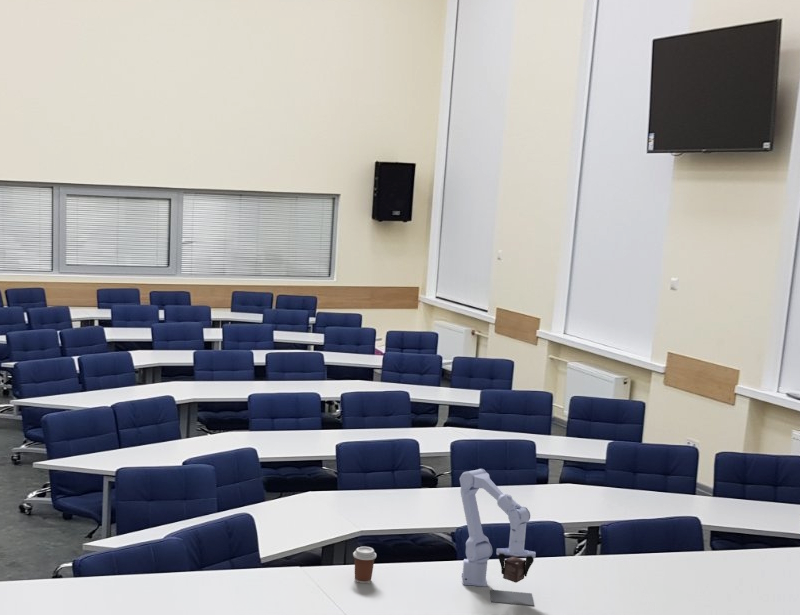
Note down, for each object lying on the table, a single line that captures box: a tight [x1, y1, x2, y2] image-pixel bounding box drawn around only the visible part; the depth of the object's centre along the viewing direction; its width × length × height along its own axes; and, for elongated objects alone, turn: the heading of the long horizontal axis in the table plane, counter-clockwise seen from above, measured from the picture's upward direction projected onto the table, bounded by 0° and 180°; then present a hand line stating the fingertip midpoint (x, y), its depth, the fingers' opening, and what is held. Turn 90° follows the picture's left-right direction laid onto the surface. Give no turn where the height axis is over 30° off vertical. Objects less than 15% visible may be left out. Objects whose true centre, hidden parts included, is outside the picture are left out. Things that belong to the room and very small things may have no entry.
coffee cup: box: [352, 546, 377, 584], centre depth 370 cm, size 9×9×12 cm
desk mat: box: [489, 589, 535, 607], centre depth 364 cm, size 16×11×1 cm
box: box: [502, 556, 526, 584], centre depth 363 cm, size 6×6×7 cm
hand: (513, 574), depth 363 cm, fingers closed on box, 7 cm apart
